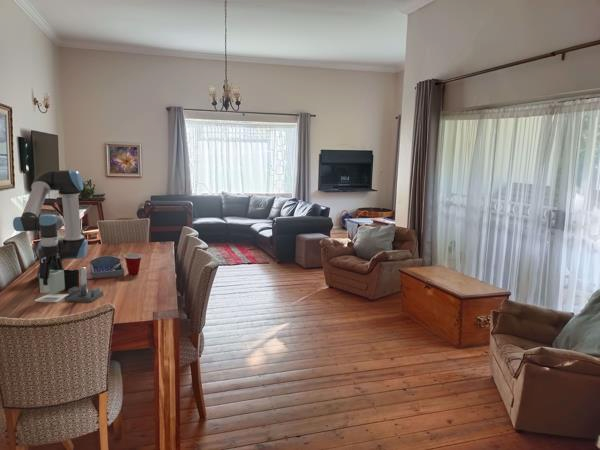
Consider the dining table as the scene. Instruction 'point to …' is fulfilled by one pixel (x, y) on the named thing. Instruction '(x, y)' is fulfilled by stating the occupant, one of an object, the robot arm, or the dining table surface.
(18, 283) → the dining table surface
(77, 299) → the block with threaded rod
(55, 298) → the mat
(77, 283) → the pen holder
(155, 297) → the dining table surface
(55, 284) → the sleeve
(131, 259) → the plastic cup
